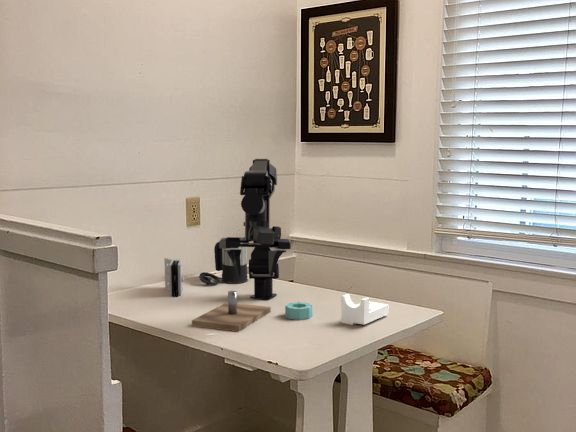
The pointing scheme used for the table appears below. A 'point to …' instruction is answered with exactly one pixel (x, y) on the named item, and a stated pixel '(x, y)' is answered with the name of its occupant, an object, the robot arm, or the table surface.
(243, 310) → the walnut base board
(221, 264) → the milk frother
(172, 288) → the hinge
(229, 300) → the steel post
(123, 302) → the table surface
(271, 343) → the table surface
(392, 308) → the table surface
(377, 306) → the bracket
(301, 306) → the teal ring
